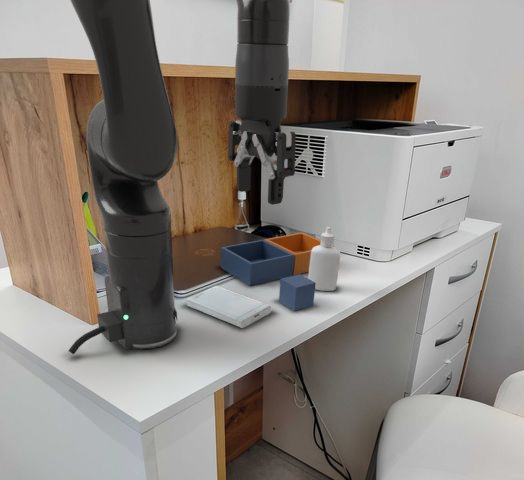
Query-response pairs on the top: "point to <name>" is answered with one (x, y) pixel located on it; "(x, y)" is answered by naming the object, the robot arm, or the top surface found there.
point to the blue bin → (257, 262)
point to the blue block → (297, 292)
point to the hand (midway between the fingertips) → (258, 197)
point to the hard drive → (229, 306)
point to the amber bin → (297, 249)
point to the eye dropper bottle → (324, 263)
